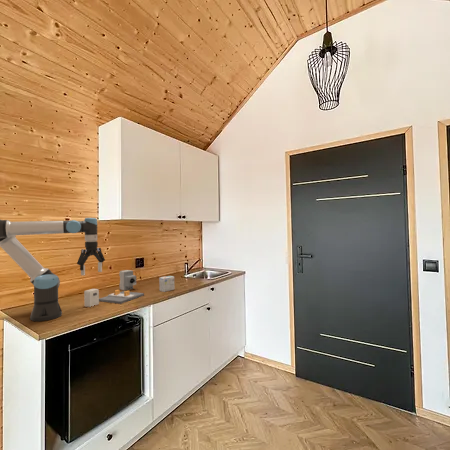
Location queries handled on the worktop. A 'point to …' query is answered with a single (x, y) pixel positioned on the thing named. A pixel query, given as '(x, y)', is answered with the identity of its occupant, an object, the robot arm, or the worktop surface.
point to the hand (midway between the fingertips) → (91, 273)
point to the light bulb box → (166, 283)
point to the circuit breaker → (127, 280)
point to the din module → (91, 297)
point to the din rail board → (121, 297)
